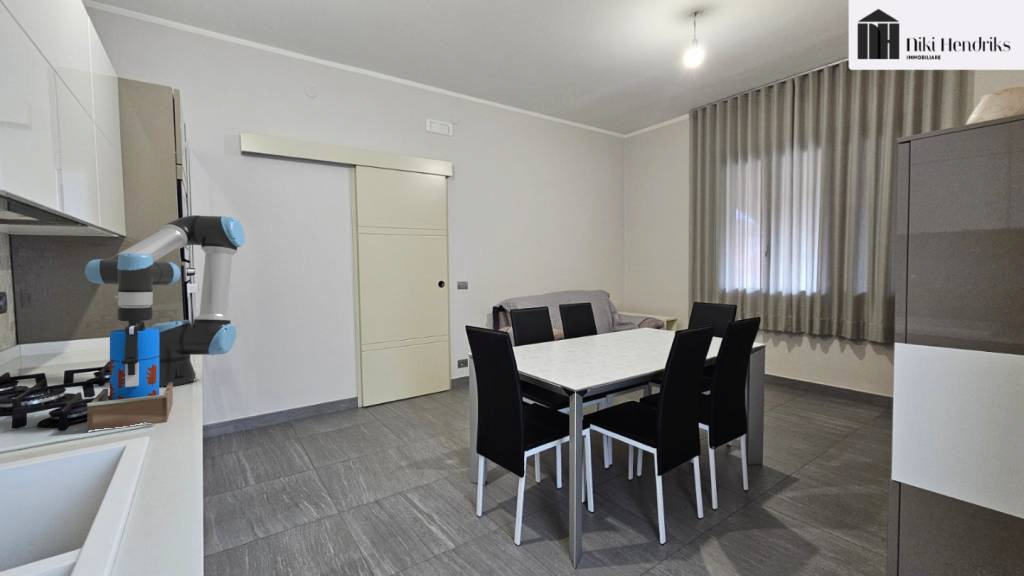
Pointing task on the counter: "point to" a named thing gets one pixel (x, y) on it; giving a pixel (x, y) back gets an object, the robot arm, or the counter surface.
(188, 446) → the counter surface
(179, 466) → the counter surface
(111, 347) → the thermos
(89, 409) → the wooden frame
